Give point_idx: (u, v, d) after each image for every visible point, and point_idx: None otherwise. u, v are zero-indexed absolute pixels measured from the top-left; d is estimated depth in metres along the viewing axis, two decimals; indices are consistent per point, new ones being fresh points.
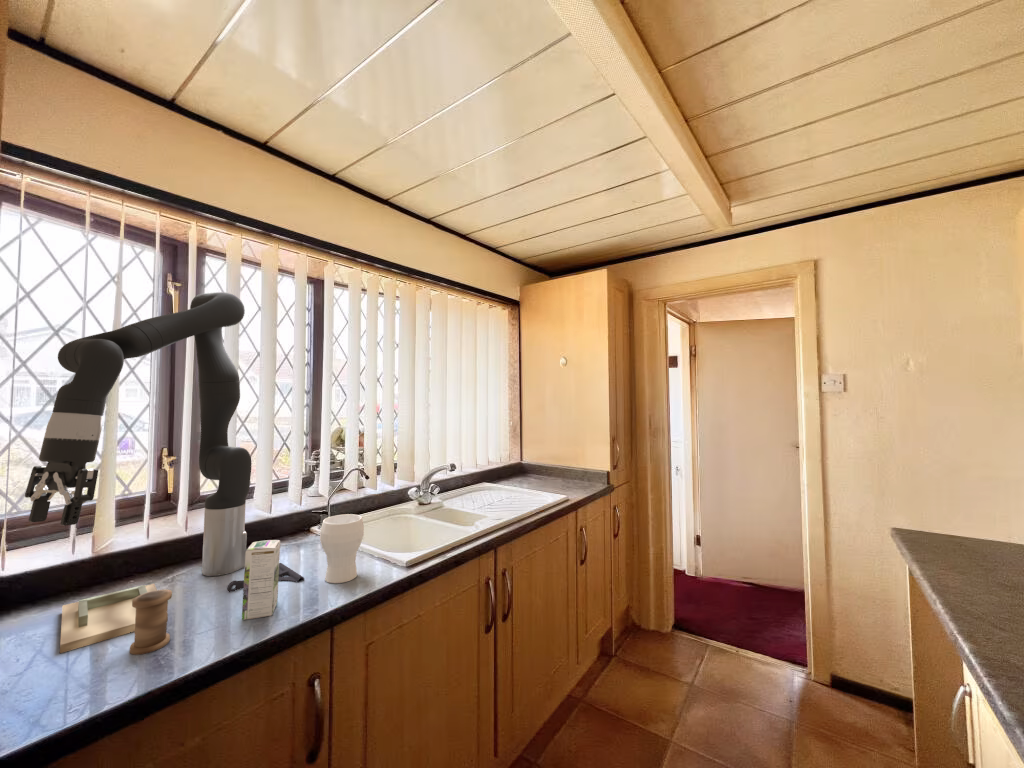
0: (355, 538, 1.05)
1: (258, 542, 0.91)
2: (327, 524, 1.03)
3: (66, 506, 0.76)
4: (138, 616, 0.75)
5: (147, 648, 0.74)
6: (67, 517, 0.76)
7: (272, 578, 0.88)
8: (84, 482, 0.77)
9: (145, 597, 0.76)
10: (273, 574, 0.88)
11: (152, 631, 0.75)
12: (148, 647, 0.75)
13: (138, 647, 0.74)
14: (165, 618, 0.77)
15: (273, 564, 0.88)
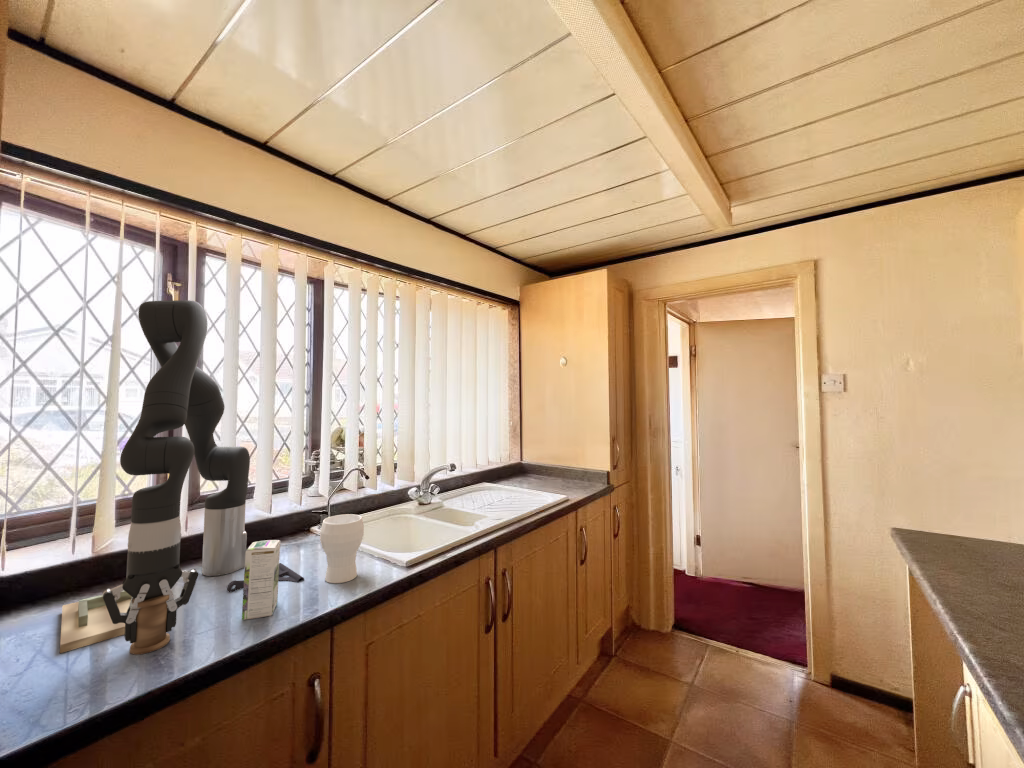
0: (355, 538, 1.05)
1: (258, 542, 0.91)
2: (327, 524, 1.03)
3: (171, 613, 0.78)
4: (138, 616, 0.75)
5: (147, 648, 0.74)
6: (171, 623, 0.78)
7: (272, 578, 0.88)
8: None
9: None
10: (273, 574, 0.88)
11: (152, 631, 0.75)
12: (148, 647, 0.75)
13: (138, 647, 0.74)
14: (165, 618, 0.77)
15: (273, 564, 0.88)
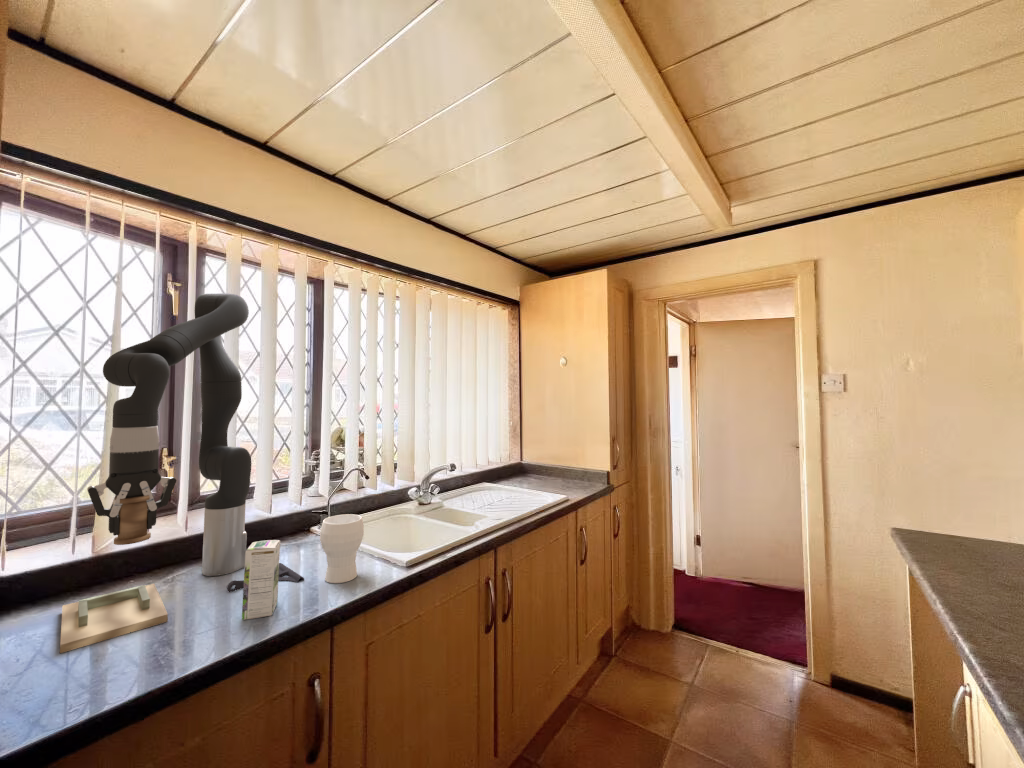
0: (355, 538, 1.05)
1: (258, 542, 0.91)
2: (327, 524, 1.03)
3: (151, 512, 0.86)
4: (121, 511, 0.83)
5: (130, 540, 0.82)
6: (151, 521, 0.86)
7: (272, 578, 0.88)
8: None
9: None
10: (273, 574, 0.88)
11: (133, 526, 0.83)
12: (130, 539, 0.83)
13: (121, 539, 0.82)
14: (146, 516, 0.85)
15: (273, 564, 0.88)
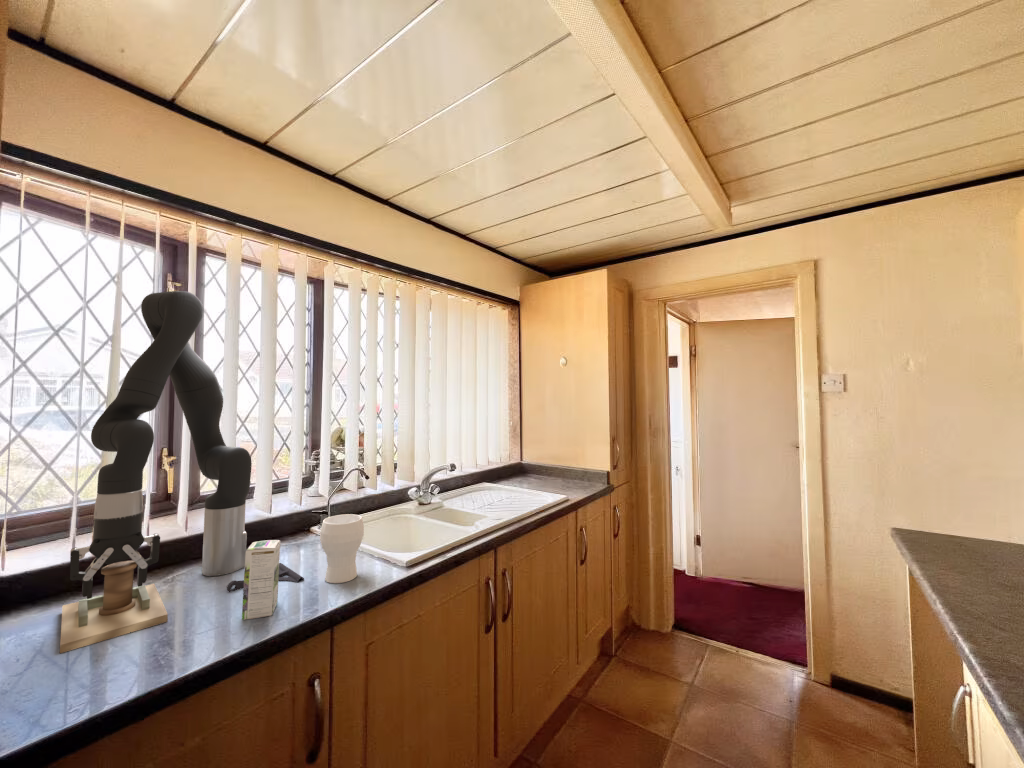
0: (355, 538, 1.05)
1: (258, 542, 0.91)
2: (327, 524, 1.03)
3: (142, 570, 0.89)
4: (106, 582, 0.85)
5: (114, 610, 0.85)
6: (142, 579, 0.89)
7: (272, 578, 0.88)
8: None
9: (113, 566, 0.87)
10: (273, 574, 0.88)
11: (118, 596, 0.86)
12: (115, 609, 0.85)
13: (106, 609, 0.85)
14: (131, 585, 0.88)
15: (273, 564, 0.88)
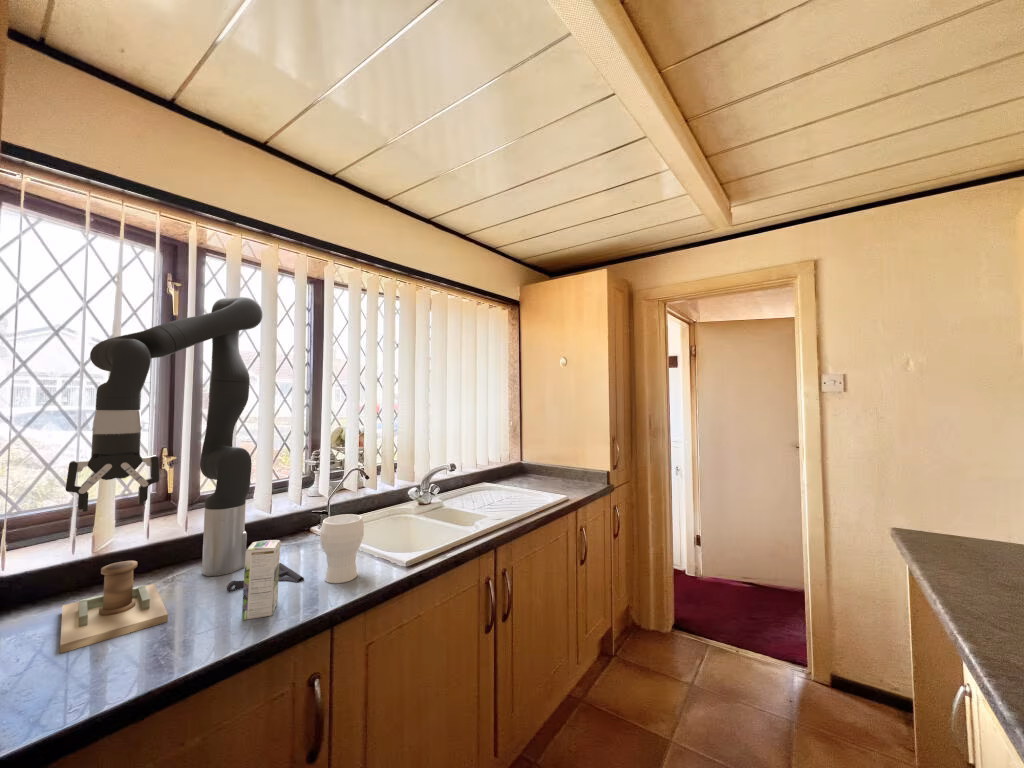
0: (355, 538, 1.05)
1: (258, 542, 0.91)
2: (327, 524, 1.03)
3: (142, 488, 0.90)
4: (106, 582, 0.85)
5: (114, 610, 0.85)
6: (143, 497, 0.90)
7: (272, 578, 0.88)
8: None
9: (113, 566, 0.87)
10: (273, 574, 0.88)
11: (118, 596, 0.86)
12: (115, 609, 0.85)
13: (106, 609, 0.85)
14: (131, 585, 0.88)
15: (273, 564, 0.88)
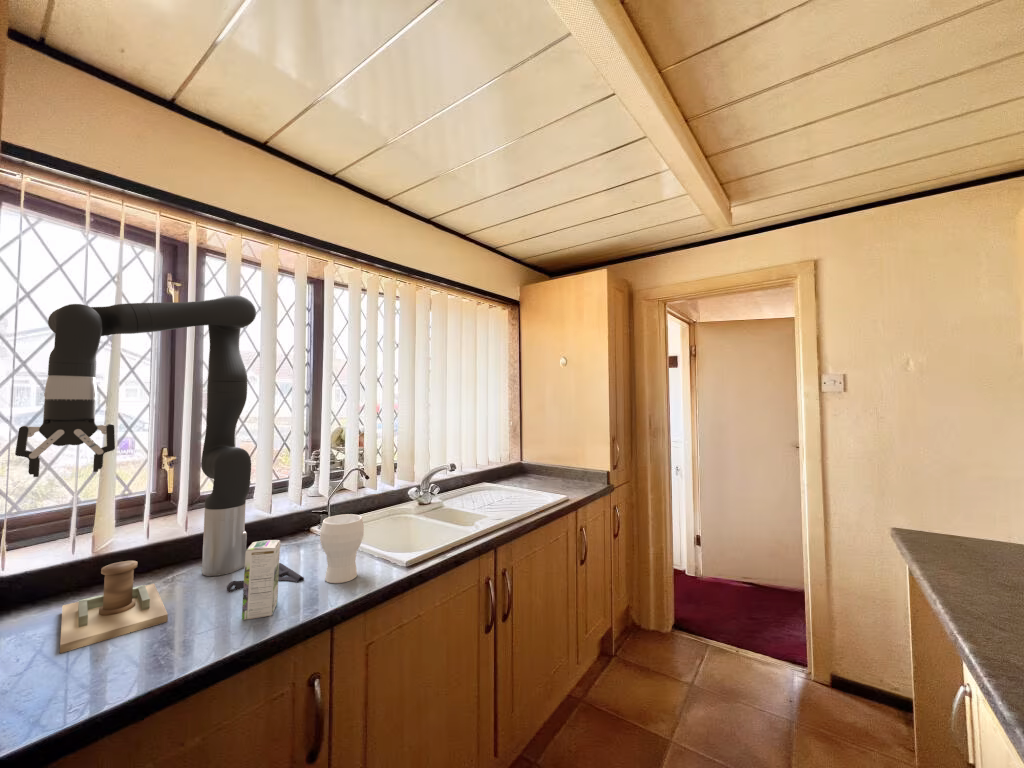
0: (355, 538, 1.05)
1: (258, 542, 0.91)
2: (327, 524, 1.03)
3: (97, 456, 0.90)
4: (106, 582, 0.85)
5: (114, 610, 0.85)
6: (98, 465, 0.90)
7: (272, 578, 0.88)
8: None
9: (113, 566, 0.87)
10: (273, 574, 0.88)
11: (118, 596, 0.86)
12: (115, 609, 0.85)
13: (106, 609, 0.85)
14: (131, 585, 0.88)
15: (273, 564, 0.88)
